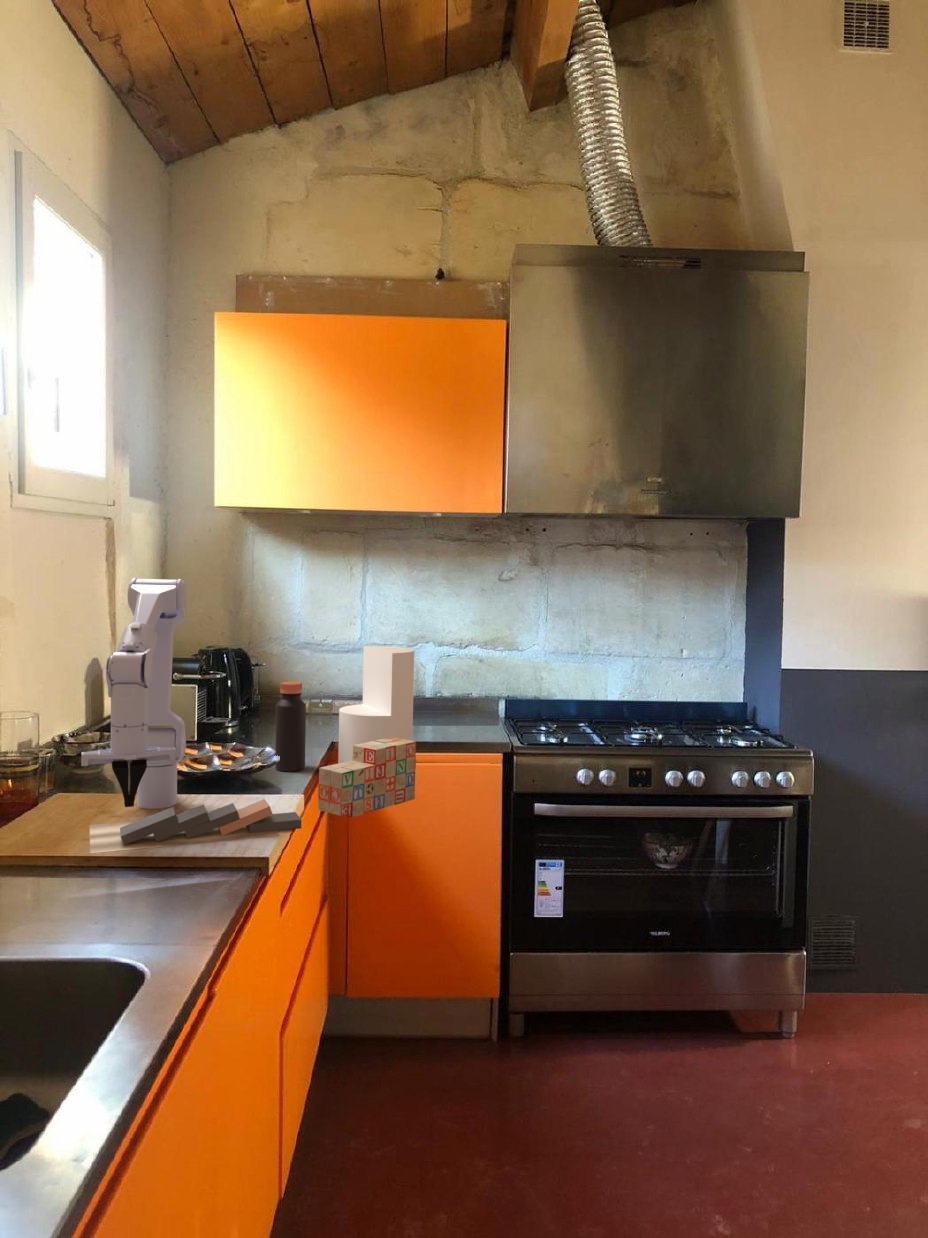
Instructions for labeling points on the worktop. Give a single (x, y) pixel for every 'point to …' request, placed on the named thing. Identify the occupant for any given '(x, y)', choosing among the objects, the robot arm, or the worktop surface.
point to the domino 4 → (248, 816)
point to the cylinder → (380, 700)
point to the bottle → (290, 728)
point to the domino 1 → (148, 826)
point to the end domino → (276, 823)
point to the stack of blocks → (369, 778)
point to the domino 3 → (215, 820)
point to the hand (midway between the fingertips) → (129, 805)
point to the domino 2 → (184, 822)
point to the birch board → (110, 839)
